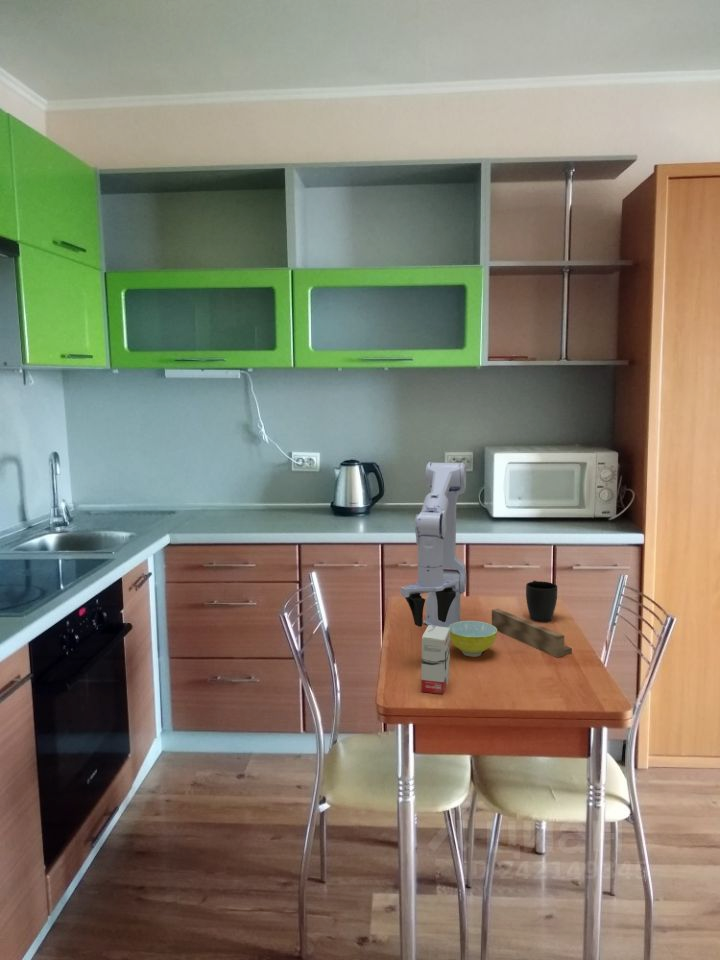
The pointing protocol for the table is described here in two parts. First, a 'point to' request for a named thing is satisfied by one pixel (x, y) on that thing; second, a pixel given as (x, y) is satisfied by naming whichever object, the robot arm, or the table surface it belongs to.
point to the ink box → (435, 659)
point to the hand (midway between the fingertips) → (430, 623)
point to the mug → (541, 600)
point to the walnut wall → (530, 633)
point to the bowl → (472, 636)
